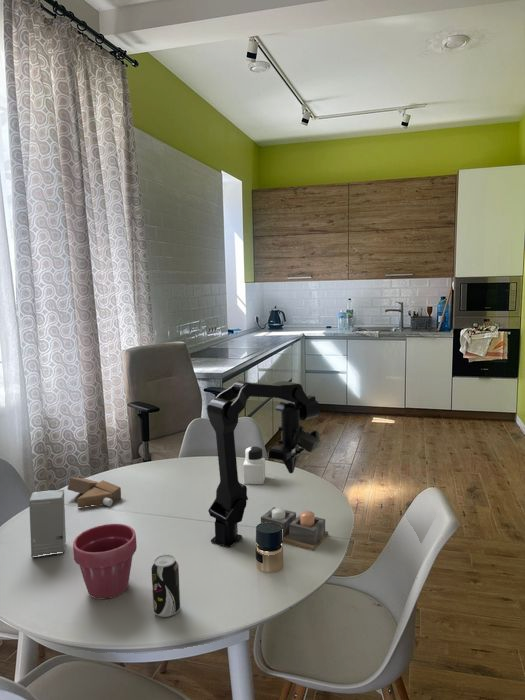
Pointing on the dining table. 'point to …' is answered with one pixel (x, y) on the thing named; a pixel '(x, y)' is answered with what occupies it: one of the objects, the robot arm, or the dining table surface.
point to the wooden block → (94, 492)
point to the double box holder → (298, 530)
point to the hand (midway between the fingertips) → (291, 472)
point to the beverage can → (165, 586)
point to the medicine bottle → (254, 466)
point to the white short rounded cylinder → (278, 513)
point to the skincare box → (47, 522)
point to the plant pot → (105, 558)
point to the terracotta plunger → (307, 518)
